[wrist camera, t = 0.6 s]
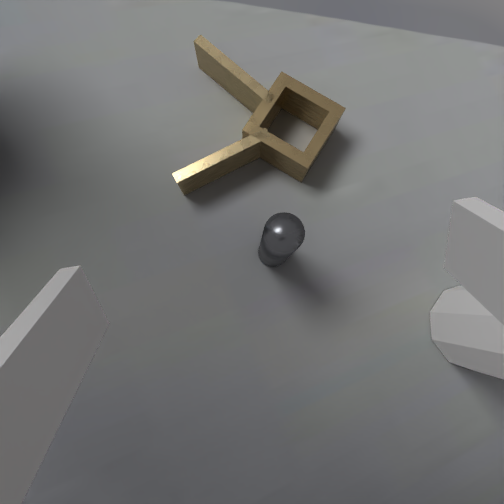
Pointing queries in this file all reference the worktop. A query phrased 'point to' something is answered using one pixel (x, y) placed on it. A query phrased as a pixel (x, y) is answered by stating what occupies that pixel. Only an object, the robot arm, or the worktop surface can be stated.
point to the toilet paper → (468, 332)
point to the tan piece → (260, 122)
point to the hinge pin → (280, 238)
